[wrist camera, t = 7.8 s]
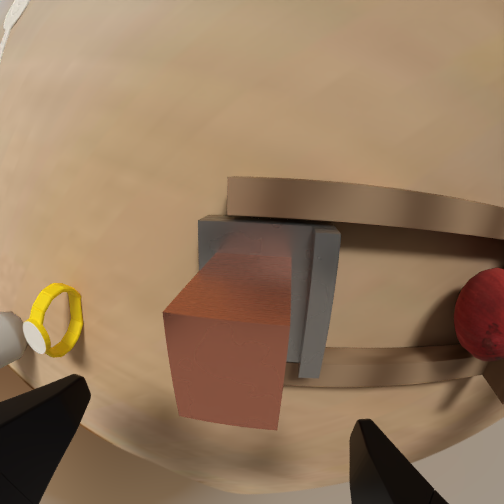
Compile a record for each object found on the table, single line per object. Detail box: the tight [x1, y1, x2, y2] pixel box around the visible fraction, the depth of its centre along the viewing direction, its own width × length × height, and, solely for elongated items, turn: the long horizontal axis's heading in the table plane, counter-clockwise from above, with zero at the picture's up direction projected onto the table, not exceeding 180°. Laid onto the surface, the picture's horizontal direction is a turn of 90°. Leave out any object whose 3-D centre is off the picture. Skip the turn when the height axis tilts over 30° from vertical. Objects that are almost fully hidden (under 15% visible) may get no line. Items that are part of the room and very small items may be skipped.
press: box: [163, 215, 341, 430], centre depth 13 cm, size 7×8×9 cm
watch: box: [23, 283, 83, 358], centre depth 18 cm, size 6×3×6 cm, turn 169°
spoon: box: [0, 0, 30, 62], centre depth 15 cm, size 5×18×1 cm, turn 171°
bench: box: [227, 177, 504, 404], centre depth 14 cm, size 22×13×6 cm, turn 88°
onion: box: [454, 268, 504, 362], centre depth 12 cm, size 6×6×8 cm
